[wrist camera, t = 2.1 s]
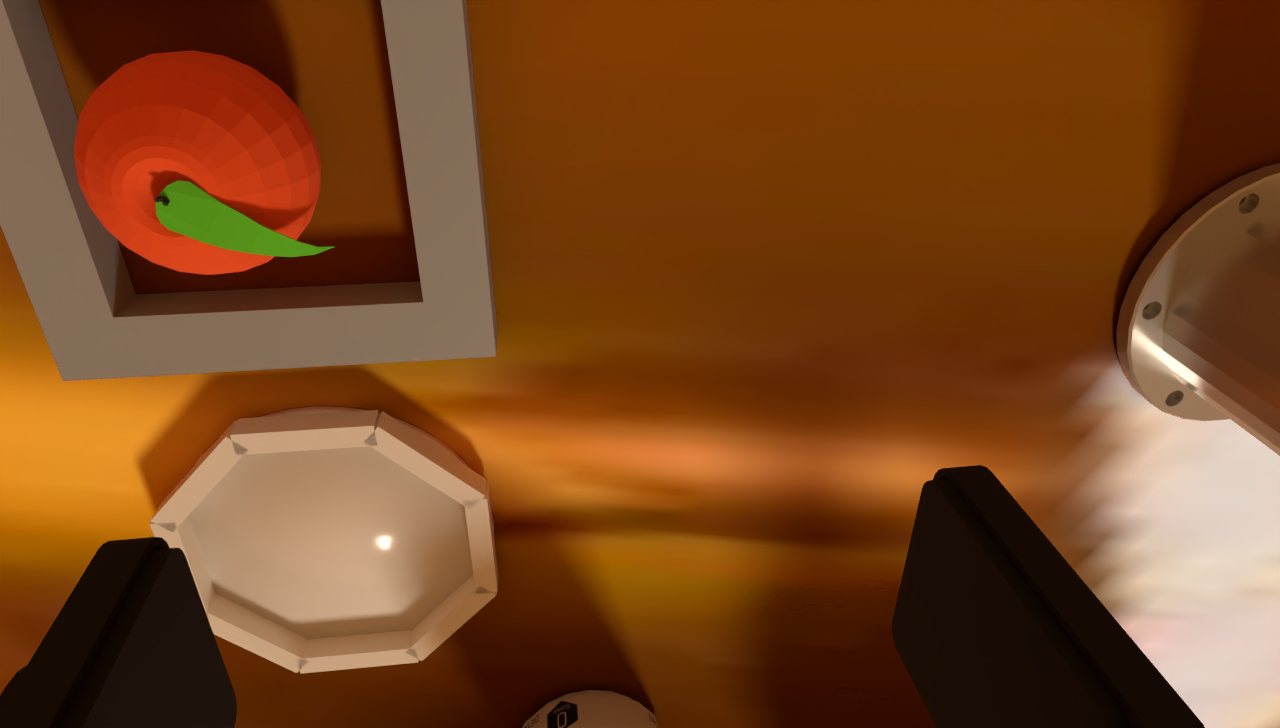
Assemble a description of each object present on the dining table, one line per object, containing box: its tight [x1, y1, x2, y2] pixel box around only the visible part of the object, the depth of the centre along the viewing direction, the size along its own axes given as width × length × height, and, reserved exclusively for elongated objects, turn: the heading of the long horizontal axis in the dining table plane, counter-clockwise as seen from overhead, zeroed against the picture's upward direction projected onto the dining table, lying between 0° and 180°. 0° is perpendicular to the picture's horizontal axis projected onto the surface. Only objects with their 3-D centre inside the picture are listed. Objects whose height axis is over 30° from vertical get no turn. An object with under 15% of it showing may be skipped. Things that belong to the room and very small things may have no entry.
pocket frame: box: [0, 0, 498, 381], centre depth 29 cm, size 16×16×2 cm
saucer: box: [150, 406, 498, 674], centre depth 38 cm, size 14×14×2 cm
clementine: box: [74, 50, 335, 275], centre depth 26 cm, size 8×7×7 cm
